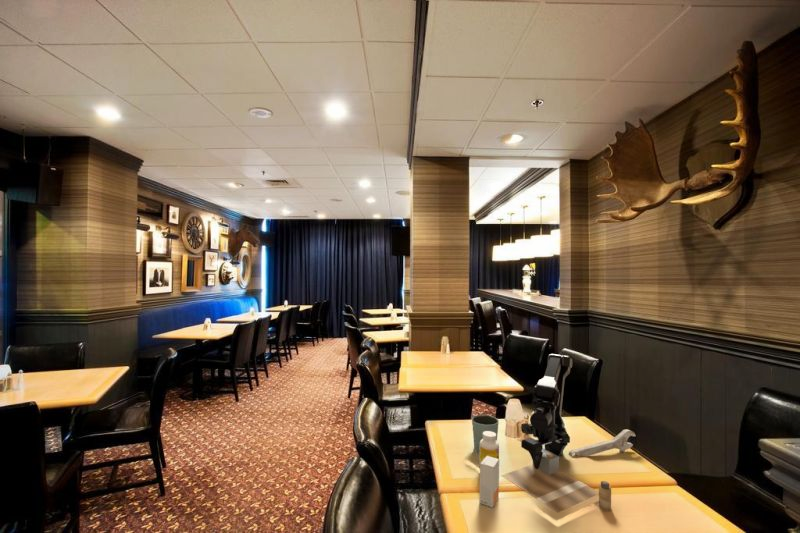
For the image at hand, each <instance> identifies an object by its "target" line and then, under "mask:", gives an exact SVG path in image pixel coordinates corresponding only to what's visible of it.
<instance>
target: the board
mask: <svg viewBox="0 0 800 533" xmlns="http://www.w3.org/2000/svg"><path fill="white" fill-rule="evenodd" d="M501 477H503V478H505V479H506V480H508V481H510V482H511V483H512V484H514V485H515V486H517V487H519V488H520V489H522V490H523V492H526V493H527V494H529V495H530V496H532V497H534V498H535V499H536V500H538V501H540V502H541V503H543V504H544V505H546V506H547V507H548V508H550V509H552V510H553V511H555V512H556V513H560V512H562V511H564V510H566V509H568V508H570V507H573V506H575V505H578V504H579V503H581V502H583V501H585V500H587V499H591V498H592V497H594V496H597V495H599V490H596V489H595V488H593V487H590V486H589V485H587V484H586V483H583V482H582V481H580V480H578V479H576V478H575V477H573V476H570V475H569V474H567V473H565V472H563V471H561V470H560V469H559V471H558V472H555V473H553V474H550V475H549V474H547V473H545V472H543V471H542V470H540V469H536V468H535V466H533V463H532V464H530V465H528V466H527V465H526V466H525V467H521V468H519V469H516V470H513V471H510V472H507V473H504V474H502V475H501Z"/></svg>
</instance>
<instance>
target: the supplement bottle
mask: <svg viewBox="0 0 800 533" xmlns="http://www.w3.org/2000/svg"><path fill="white" fill-rule="evenodd" d="M486 456H490V457H493V458H497V459H499V460H500V443H499V441H498V440H497V441H496V433H494V432H491V431H484V432H483V439H482V440H481V441H480V452H479V462H478V464H479V467H478V468H479V469H480V463H481V462H482V461H483V459H484V458H485V457H486Z"/></svg>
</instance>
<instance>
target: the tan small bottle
mask: <svg viewBox="0 0 800 533" xmlns="http://www.w3.org/2000/svg"><path fill="white" fill-rule="evenodd" d="M598 492H599V494H598V507H599V509H601V510H603V511H605V512H610V511H611V510H612V487H611V486H610V483H609V482H608V481H605V480H602V481H600V484H599V485H598Z"/></svg>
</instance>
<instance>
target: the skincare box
mask: <svg viewBox="0 0 800 533" xmlns="http://www.w3.org/2000/svg"><path fill="white" fill-rule="evenodd" d="M499 482H500V458H499V459H497V458H493V457H490V456H486V457H485V458H484V459H483V461H482V462H481V463H480V468H479V504H481V505H484V506H487V507H489V508H494V505H495V504H496V503H497V500H498V499H499V493H500V492H499V490H500V489H499V486H500V484H499Z"/></svg>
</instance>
